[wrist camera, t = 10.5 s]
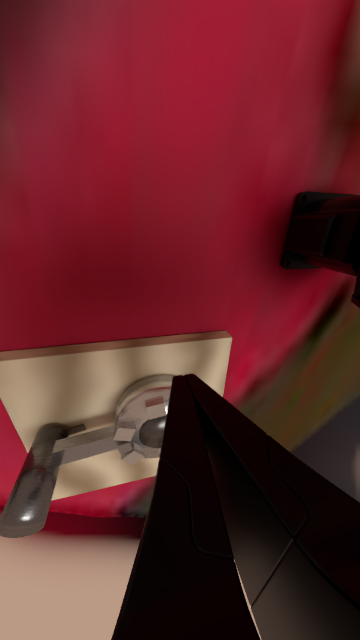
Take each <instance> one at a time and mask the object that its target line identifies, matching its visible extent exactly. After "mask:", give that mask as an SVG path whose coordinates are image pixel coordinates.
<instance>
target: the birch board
mask: <svg viewBox="0 0 360 640" xmlns="http://www.w3.org/2000/svg"><path fill="white" fill-rule="evenodd" d="M231 342H232V336H231V335H230V334H229V333H228V332H227V331H215V332H204V333H194V334H183V335H173V336H162V337H152V338H141V339H131V340H120V341H110V342H99V343H89V344H78V345H67V346H57V347H46V348H36V349H25V350H15V351H4V352H0V398H1V400H2V402H3V404H4V406H5V408H6V410H7V412H8V414H9V416H10V418H11V420H12V422H13V424H14V426H15V428H16V430H17V432H18V434H19V436H20V438H21V440H22V442H23V444H24V446H25V448H26V450H27V452H29V450H30V448H31V445H32V443H33V441H34V438H35V436H36V434H37V432H38V431H40V430H41V429H43V428H46V427H51V426H56V427H61V428H63V429H65V430H66V431H67V432H68V434H69V437H71V436H75V435H79V434H82V433H86V432H90V431H93V430H97V429H101V428H105V427H108V426H112V425H115V413H116V405H117V402H118V400H119V398H120V397H121V395H122V394H123V393H124V392H125V390H127V389H128V388H129V387H130V386H132V385H133V384H135V383H136V382H138V381H140V380H143V379H145V378H149V377H153V376H160V375H169V376H177V375H183V376H184V375H185V374H191V373H193V374H195V375H196V376H198V377H199V378H200V379H201V380H203V381H204V382H205V383H206V384H207V385H209V386H210V387H211V388H212V389H213V390H215V391H216V392H217V393H218V394H219V395H221V396H222V397H223V392H224V386H225V380H226V373H227V367H228V361H229V355H230V348H231ZM158 462H159V458H142V459H141V460H139V461H138V462H136V463H135V464H133V465H131V464H129V463H127V462H125V461H123V460H121V454H120V453H119V450H118V449H116V450H112V451H109V452H105V453H102V454H98V455H95V456H91V457H88V458H84V459H81V460H77V461H74V462H70V463H67V464H63V465H61V467H60V470H59V474H58V478H57V481H56V485H55V489H54V492H53V496H52V499H51V500H56V499H60V498H64V497H68V496H73V495H77V494H81V493H85V492H89V491H93V490H98V489H102V488H106V487H110V486H114V485H118V484H123V483H127V482H131V481H135V480H139V479H143V478H148V477H152V476H156V474H157V468H158Z"/></svg>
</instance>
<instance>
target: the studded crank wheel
mask: <svg viewBox="0 0 360 640" xmlns="http://www.w3.org/2000/svg"><path fill="white" fill-rule="evenodd" d="M172 379H173V376H169V375H160V376H153V377H149V378H145V379H143V380H140V381H138V382H136V383H135V384H133V385H132V386H130V387H129V388H128V389H127V390H125V392H124V393H123V394H122V395H121V397H120V398H119V400H118V402H117V405H116V413H115V425H112V426H108V427H105V428H101V429H97V430H93V431H90V432H86V433H82V434H79V435H75V436H71V437H69V434H68V432H67V431H66V430H65V429H63V428H61V427H56V426H51V427H46V428H43V429H41V430H40V431H38V432H37V434H36V436H35V438H34V441H33V443H32V445H31V448H30V450H29V452H28V455H27V457H26V459H25V462H24V464H23V466H22V469H21V471H20V473H19V476H18V478H17V480H16V483H15V485H14V487H13V490H12V492H11V494H10V497H9V499H8V501H7V504H6V506H5V509H4V511H3V513H2V516H1V518H0V535H1V536H3V537H9V538H17V537H24V536H28V535H31V534H34V533H36V532H38V531H39V530H41V529H42V528H43V527H44V525H45V521H46V518H47V514H48V510H49V507H50V503H51V499H52V496H53V492H54V489H55V485H56V481H57V478H58V474H59V470H60V467H61V465H63V464H67V463H70V462H74V461H77V460H81V459H84V458H88V457H91V456H95V455H98V454H102V453H105V452H109V451H112V450H116V449H118V450H119V453H120V454H121V460H123V461H125V462H127V463H129V464H131V465H133V464H135V463H136V462H138V461H139V460H141V459H142V458H159V457H160V451H161V445H162V439H163V433H164V427H165V421H166V415H167V409H168V403H169V397H170V391H171V385H172Z"/></svg>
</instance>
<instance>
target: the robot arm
mask: <svg viewBox="0 0 360 640" xmlns="http://www.w3.org/2000/svg"><path fill="white" fill-rule="evenodd" d="M302 196H303V201H302ZM286 262H287V264H286ZM285 264H286V265H285ZM280 265H281V267H282V268H285V269H301V268H326V269H330V270H334V271H338V272H342V273H346V274H350V275H354V276H357V277H356V283H355V289H354V294H353V295H352V299H351V302H352V303H354V304H355V305H357V306H358V307H359V308H360V195H350V194H335V193H320V192H300V193H299V194H298V195H297V197H296V200H295V204H294V209H293V213H292V217H291V221H290V225H289V230H288V234H287V238H286V242H285V246H284V251H283V255H282V259H281V264H280ZM234 560H235V562H234ZM235 563H236V564H235ZM236 565H237V568H238V571H239V574H240V577H241V580H242V583H243V586H244V589H245V592H246V595H247V598H248V600H249V603H250V605H251V609H252V613H253V615H254V618H255V621H256V624H257V627H258V630H259V633H260V636H261V639H262V640H360V503H359V502H358V501H357V500H355V499H354V498H352V497H351V496H350V495H348V494H346V493H345V492H344V491H342V490H341V489H339V488H338V487H337V486H335V485H334V484H333V483H331V482H330V481H328V480H327V479H325V478H324V477H323V476H321V475H320V474H318V473H317V472H315V471H314V470H313V469H311V468H310V467H309V466H307V465H306V464H305V463H303V462H302V461H301V460H299V459H298V458H297V457H295V456H294V455H293V454H291V453H290V452H289V451H288V450H286V449H285V448H284V447H283V446H281V445H280V444H279V443H278V442H276V441H275V440H274V439H273V438H272V437H270V436H269V435H267V434H266V433H265V432H264V431H263V430H262V429H261V428H259V427H258V426H257V425H256V424H255V423H253V422H252V421H251V420H250V419H248V418H247V417H246V416H245V415H244V414H242V413H241V412H240V411H239V410H238V409H236V408H235V407H234V406H233V405H232V404H230V403H229V402H228V401H227V400H226V399H224V398H223V397H222V396H221V395H219V394H218V393H217V392H216V391H215V390H213V389H212V388H211V387H210V386H209V385H207V384H206V383H205V382H204V381H203V380H201V379H200V378H199V377H198V376H196V375H195V374H193V373H191V374H185V375H184V376H183V375H177V376H173V379H172V385H171V391H170V397H169V403H168V409H167V415H166V421H165V427H164V433H163V439H162V445H161V451H160V457H159V462H158V468H157V474H156V479H155V484H154V489H153V494H152V499H151V502H150V506H149V510H148V514H147V518H146V522H145V525H144V529H143V533H142V536H141V539H140V543H139V547H138V550H137V554H136V557H135V561H134V564H133V568H132V571H131V575H130V578H129V582H128V585H127V589H126V592H125V596H124V599H123V603H122V606H121V610H120V613H119V617H118V620H117V623H116V626H115V629H114V633H113V636H112V639H111V640H260V637H259V635H258V633H257V630H256V627H255V625H254V622H253V620H252V617H251V614H250V611H249V609H248V606H247V602H246V599H245V596H244V593H243V590H242V587H241V583H240V579H239V576H238V572H237V569H236Z"/></svg>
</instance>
